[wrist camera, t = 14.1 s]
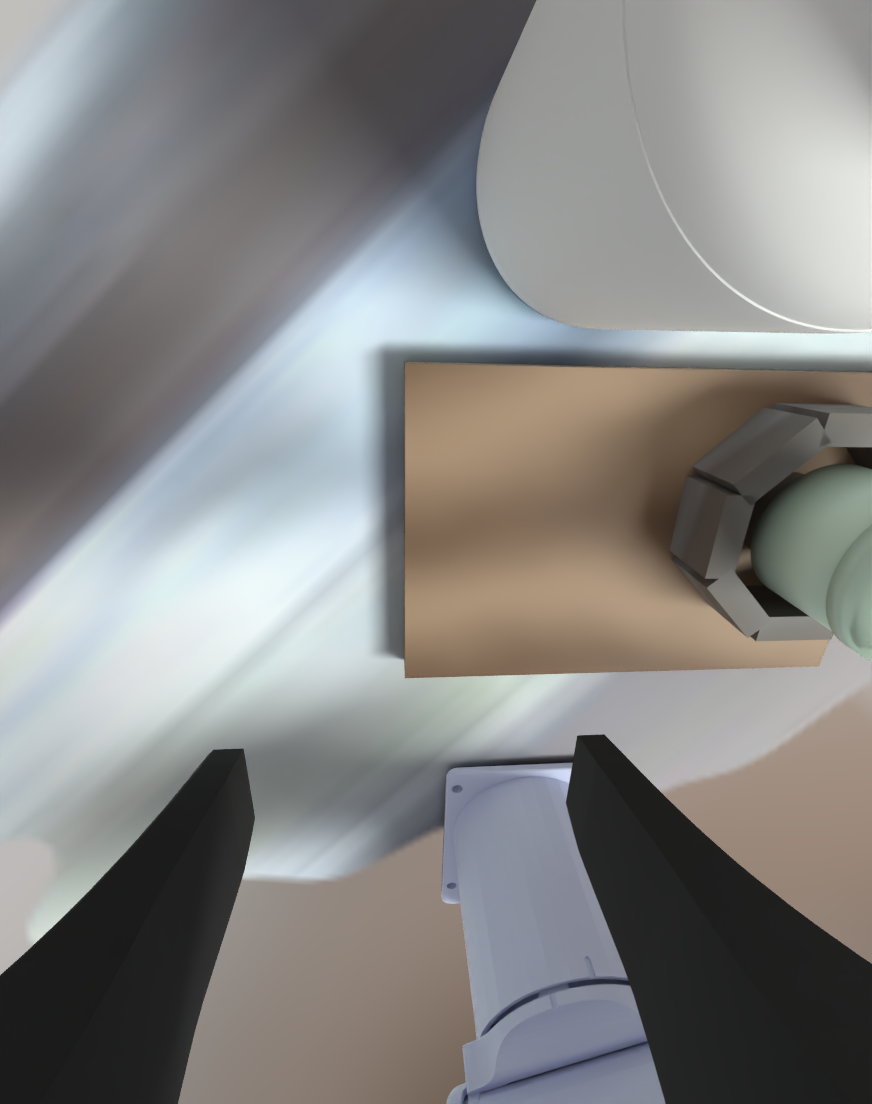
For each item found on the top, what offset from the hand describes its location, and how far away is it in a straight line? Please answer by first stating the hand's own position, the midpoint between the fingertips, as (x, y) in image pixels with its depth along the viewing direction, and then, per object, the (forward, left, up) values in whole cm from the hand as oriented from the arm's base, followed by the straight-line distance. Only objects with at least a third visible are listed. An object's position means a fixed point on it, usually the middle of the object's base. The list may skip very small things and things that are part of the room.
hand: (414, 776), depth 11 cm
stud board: (+2, -9, -10) cm, 14 cm away
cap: (+3, -14, -7) cm, 16 cm away
